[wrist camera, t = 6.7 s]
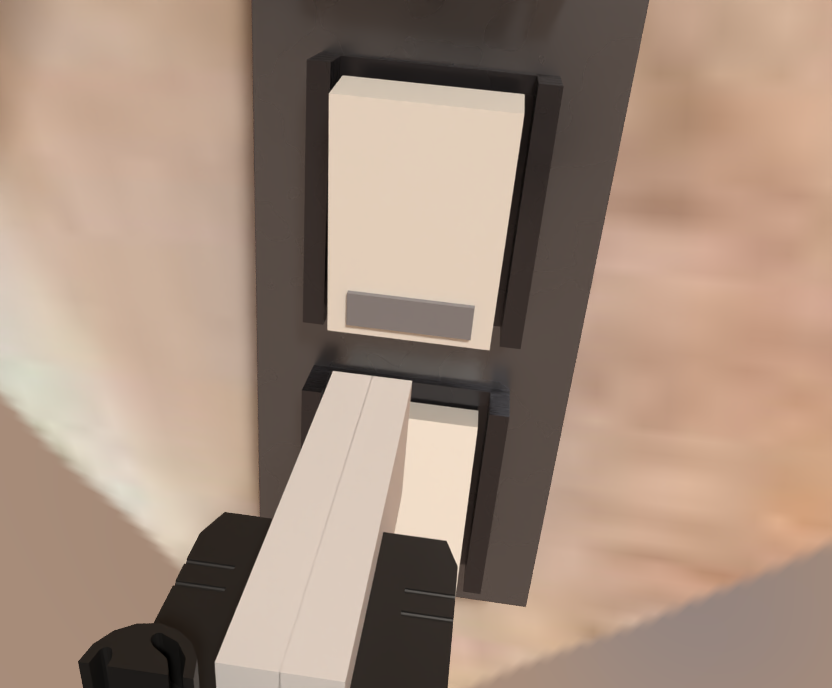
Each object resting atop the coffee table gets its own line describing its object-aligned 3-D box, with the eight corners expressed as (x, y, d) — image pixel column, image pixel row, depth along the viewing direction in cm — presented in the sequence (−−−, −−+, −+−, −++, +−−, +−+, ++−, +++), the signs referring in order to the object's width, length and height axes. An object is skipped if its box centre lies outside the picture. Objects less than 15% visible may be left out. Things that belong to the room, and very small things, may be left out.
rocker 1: (342, 75, 19) (327, 95, 18) (524, 94, 19) (524, 115, 17) (339, 301, 23) (326, 333, 21) (491, 319, 22) (489, 353, 21)
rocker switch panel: (293, -473, 19) (214, -623, 14) (711, -449, 18) (785, -595, 13) (288, 501, 33) (247, 600, 28) (524, 533, 32) (526, 641, 27)
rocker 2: (337, 392, 25) (327, 409, 23) (478, 410, 24) (477, 429, 23) (322, 574, 26) (310, 603, 24) (454, 593, 26) (452, 624, 24)
